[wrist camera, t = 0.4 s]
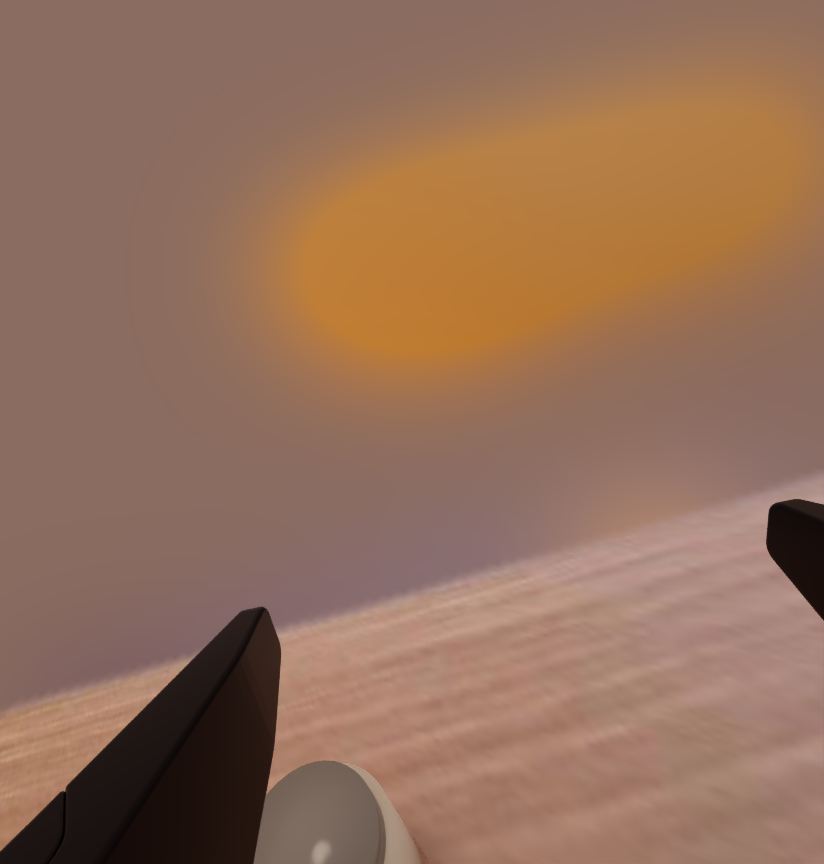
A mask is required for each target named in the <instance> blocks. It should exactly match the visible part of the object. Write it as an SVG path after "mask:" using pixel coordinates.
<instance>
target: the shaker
mask: <svg viewBox="0 0 824 864" xmlns="http://www.w3.org/2000/svg"><path fill="white" fill-rule="evenodd" d="M254 864H429V862H428V861H427V859H426V858H425V856H424V854H423V853H422V851H421V849H420V848H419V846H418V845H417V843H416V841H415V840H414V838H413V837H412V835H411V833H410V832H409V830H408V829H407V827H406V825H405V824H404V822H403V821H402V819H401V817H400V816H399V814H398V813H397V811H396V809H395V808H394V806H393V805H392V803H391V801H390V800H389V798H388V797H387V795H386V793H385V792H384V790H383V789H382V787H381V785H380V784H379V783H378V782H377V781H376V779H375V778H374V777H373V776H371V775H370V774H369V773H368V772H367V771H365V770H363V769H362V768H360V767H358V766H355V765H352V764H348V763H343V762H335V761H317V762H313V763H309V764H306V765H304V766H301V767H299V768H297V769H296V770H294V771H292V772H291V773H289V774H288V775H286V776H285V777H284V778H283V779H281V780H280V781H279V782H278V783H277V784H276V785H275V786H274V787H273V788H272V789H271V790H270V791H269V793H268V794H267V795H266V797H265V802H264V808H263V813H262V819H261V825H260V830H259V836H258V841H257V847H256V852H255V858H254Z"/></svg>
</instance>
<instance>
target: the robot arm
mask: <svg viewBox="0 0 824 864" xmlns="http://www.w3.org/2000/svg"><path fill="white" fill-rule="evenodd" d="M766 545H767V549H768V552H769V554H770V556H771V557H772V559H773V560H774V561H775V562H776V564H777V565H778V566H779V567H780V568H781V570H782V571H783V572H784V573H785V574H786V576H787V577H788V578H789V579H790V580H791V582H792V583H793V584H794V585H795V587H796V588H797V589H798V590H799V591H800V593H801V594H802V595H803V596H804V597H805V599H806V600H807V601H808V602H809V604H810V605H811V606H812V607H813V608H814V610H815V611H816V612H817V613H818V614H819V616H820V617H821V618H822V619H823V620H824V505H823V504H819V503H814V502H810V501H805V500H801V499H793V500H788V501H783V502H778V503H775V504H773V505H772V506H771V507H770V509H769V515H768V526H767V538H766ZM280 665H281V647H280V642H279V639H278V636H277V634H276V631H275V628H274V625H273V623H272V620H271V617H270V614H269V612H268V611H267V609H266V608H264V607H257V608H253V609H247V610H243V611H241V612H240V613H239V614H238V615H237V616H236V617H235V618H234V619H233V620H232V621H231V622H230V623H229V624H228V625H227V626H226V627H225V628H224V629H223V630H222V631H221V632H220V633H219V634H218V635H217V636H216V637H215V638H214V639H213V640H212V641H211V642H210V643H209V644H208V645H207V646H206V647H205V648H204V649H203V650H202V651H201V652H200V653H199V654H198V655H197V656H196V657H195V658H194V659H193V660H192V661H191V662H190V663H189V664H188V665H187V666H186V667H185V668H184V669H183V670H182V671H181V672H180V673H179V674H178V675H177V676H176V677H175V678H174V679H173V680H172V681H171V682H170V683H169V684H168V685H167V686H166V687H165V688H164V689H163V690H162V691H161V692H160V693H159V694H158V695H157V696H156V697H155V698H154V699H153V700H152V701H151V702H150V703H149V704H148V705H147V706H146V707H145V708H144V709H143V710H142V711H141V712H140V713H139V714H138V715H137V716H136V717H135V718H134V719H133V720H132V721H131V722H130V723H129V724H128V725H127V726H126V727H125V728H124V729H123V730H122V731H121V732H120V733H119V734H118V735H117V736H116V737H115V738H114V739H113V740H112V741H111V742H110V743H109V744H108V745H107V746H106V747H105V748H104V749H103V750H102V751H101V752H100V753H99V754H98V755H97V756H96V757H95V758H94V759H93V760H92V761H91V762H90V763H89V764H88V765H87V766H86V767H85V768H84V769H83V770H82V771H81V772H80V773H79V774H78V775H77V776H76V777H75V778H74V779H73V780H72V781H71V782H70V783H69V784H68V785H67V787H66V790H65V792H64V791H62V792H60V793H59V794H58V795H57V796H56V797H55V798H54V799H53V800H52V801H51V802H50V803H49V804H48V805H47V806H46V807H45V808H44V809H43V810H42V811H41V812H40V813H39V814H38V815H37V816H36V817H35V818H34V819H33V820H32V821H31V822H30V823H29V824H28V825H27V826H26V827H25V828H24V829H23V830H22V831H21V832H20V833H19V834H18V835H17V836H16V837H15V838H14V839H12V840H11V841H10V842H9V843H8V844H7V845H6V846H5V847H4V848H3V849H2V850H1V851H0V864H254V858H255V852H256V847H257V841H258V836H259V830H260V825H261V819H262V813H263V808H264V802H265V797H266V791H267V786H268V780H269V774H270V769H271V763H272V757H273V751H274V744H275V733H276V720H277V707H278V693H279V679H280Z"/></svg>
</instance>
